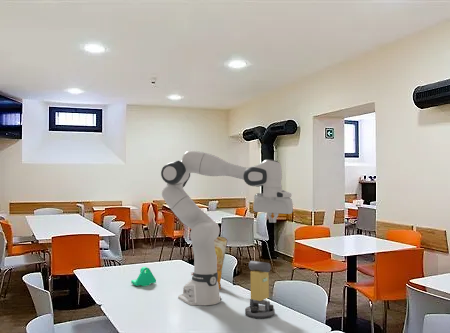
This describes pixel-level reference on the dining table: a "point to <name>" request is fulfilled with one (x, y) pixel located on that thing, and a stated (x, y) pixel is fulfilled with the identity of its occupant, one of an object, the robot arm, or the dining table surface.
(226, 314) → the dining table surface
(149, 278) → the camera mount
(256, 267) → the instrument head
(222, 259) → the pancake mix bag
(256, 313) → the grey round mount base
